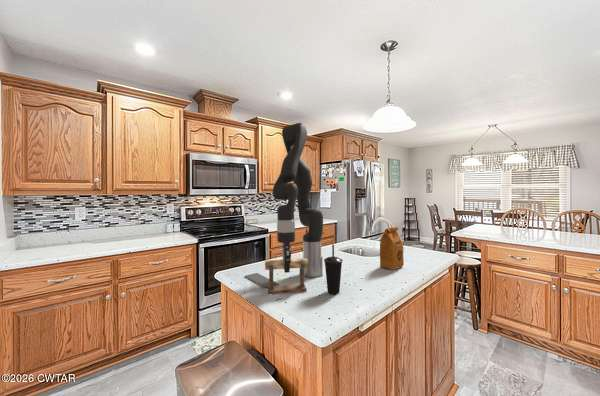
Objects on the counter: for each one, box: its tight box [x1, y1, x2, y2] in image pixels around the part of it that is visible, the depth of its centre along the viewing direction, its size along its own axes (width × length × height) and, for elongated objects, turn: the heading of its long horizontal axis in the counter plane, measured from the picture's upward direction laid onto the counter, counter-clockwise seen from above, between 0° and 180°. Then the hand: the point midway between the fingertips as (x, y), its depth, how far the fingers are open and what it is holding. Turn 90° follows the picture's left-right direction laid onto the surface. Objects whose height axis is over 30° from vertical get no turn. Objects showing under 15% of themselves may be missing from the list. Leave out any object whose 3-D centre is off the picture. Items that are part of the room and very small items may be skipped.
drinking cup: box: [323, 244, 344, 296], centre depth 105 cm, size 8×8×20 cm
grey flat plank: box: [244, 272, 280, 289], centre depth 120 cm, size 20×7×1 cm, turn 39°
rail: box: [264, 258, 308, 271], centre depth 107 cm, size 18×3×3 cm, turn 99°
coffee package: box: [379, 226, 404, 270], centre depth 138 cm, size 10×12×22 cm
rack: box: [267, 263, 307, 296], centre depth 107 cm, size 16×6×12 cm, turn 99°
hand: (286, 270), depth 107 cm, fingers closed on rail, 3 cm apart
